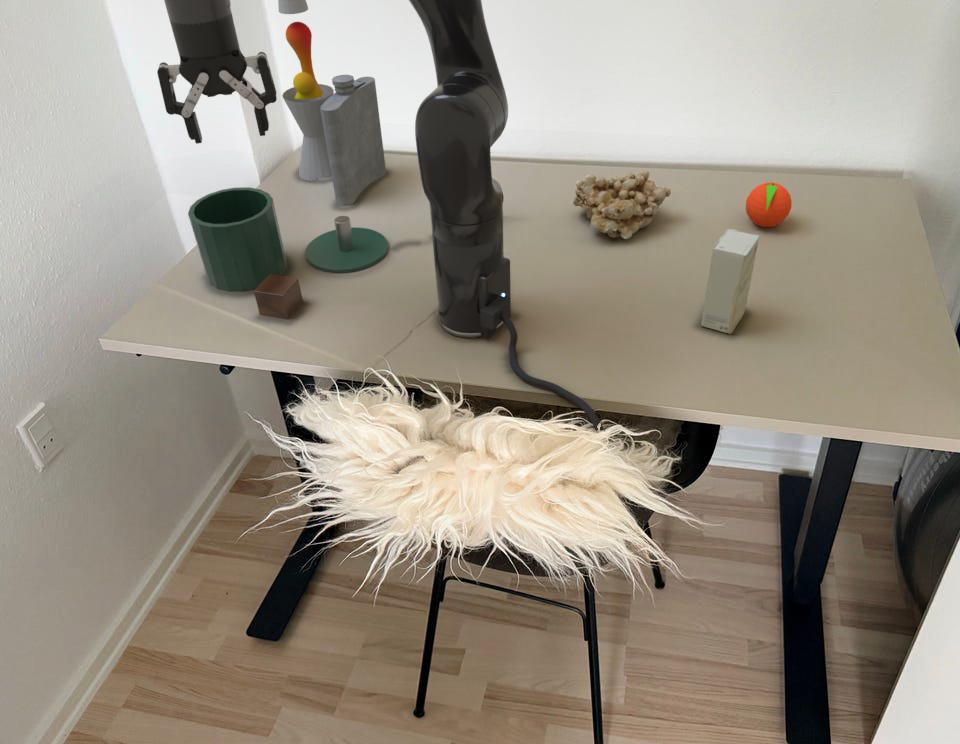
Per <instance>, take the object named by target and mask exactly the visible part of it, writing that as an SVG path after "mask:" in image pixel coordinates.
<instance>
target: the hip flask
mask: <svg viewBox="0 0 960 744" xmlns="http://www.w3.org/2000/svg"><path fill="white" fill-rule="evenodd" d="M331 83H332V85H333V88H334V93H333V95H332V96H330V97H329V98H328V99H327V100H326V101H325V102H324V103H323V104H322V106H321V107H320V109H321V115H322V121H323V127H324V133H325V139H326V145H327V151H328V156H329V162H330V168H331V174H332V176H331V178H332V186H333V191H334V196H335V197H334V198H335V203H336V205H337V206H339V207H347V206H351V205H353V204H354V203H355V202H356V200H357V198H358V197H359V196H360V194H361V193H362V192H363V191H364V190H365V189H366V188H367V187H368V186H369V185H370V184H371V183H372V182H373V183H375V182H377V181H379V180H381V178H383V177H384V176H386V175H387V168H386V160H385V152H384V143H383V136H382V135H383V134H382V126H381V118H380V110H379V102H378V94H377V86H376V79H375V77H373V76H361V77H358V78H357V79H355V77H354V76H353V75H351V74H339V75H334V76H333V77H332V78H331Z"/></svg>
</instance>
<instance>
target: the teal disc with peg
mask: <svg viewBox="0 0 960 744" xmlns="http://www.w3.org/2000/svg"><path fill="white" fill-rule="evenodd" d="M333 221H334V229H332V230H329V231H327V232H324V233H322V234H320V235H318V236H316V237H315V238H314V239H312V240H311V241H310V242H309V243H308V244H307V246H306V248H305V252H304V253H305V259H306V261H307V263H308V264H309V265H310V266H311V267H313V268H315V269H317V270H319V271H323V272H327V273H333V274H335V273H336V274H342V273H343V274H345V273H353V272H358V271H361V270H364V269H367V268H370V267H372V266H374V265H376V264H377V263H379V262H380V261H382V260H383V259H384V258H385V256H386V255H387V253H388V250H389V243H388V241H387V238H386V237H385V236H384V235H383V234H382V233H381V232H378V231H376V230H373V229H371V228H367V227H354V226H353V227H352V223H351V218H350V216H347V215H339V216H336V217H335V218H334V220H333Z"/></svg>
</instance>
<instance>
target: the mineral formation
mask: <svg viewBox="0 0 960 744" xmlns="http://www.w3.org/2000/svg"><path fill="white" fill-rule="evenodd" d="M649 177H650V171H647V170H644V169H643V170H641V171H639V172H638V174H637V175H635V174H634V173H633V172H628V173H626V174H624V176H622V177H621V176H616V177H615V178H609V179H606V178H605V177H604V176H601V175H600V176H596V175H595V174H587V175H585V176H584V177H583V178H584V179H583V180H580V179H579V180H577V181H576V182H575V186H576V189H574V191H575V195H576V196H575V195H574V197H573V198H572V199H573V200H572V204H573V205H574V207H581V209H582V210H584V212H585V213H586V216H587V219H589V220H590V224H589V225H590V228H591V229H593V230H598V231H599V232H602V233H604V234H607V235H608V236H609V238H613V239H614V238H617V237H621V238H622V239H623V240H629V239H630V238H631V237H632V236H633V234H635V233H637V232H638V231H639V229H643V228H645V227H646V226H648V225H650V224H651V222H652V221H653V218H654V216H656V215H657V214H658V213H659V211H660V206H661V205H662V204H663V202H664V201H665V200H666V198H667V197H670V196H671V194H672V192H671V189H670V188H669V187H668V186H665V187H661V186H660V187H659V186H656V183H655V181H654V180H649Z"/></svg>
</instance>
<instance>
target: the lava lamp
mask: <svg viewBox="0 0 960 744" xmlns="http://www.w3.org/2000/svg"><path fill="white" fill-rule="evenodd" d="M277 3H278V4H277V6H278V13H280V14H282V15H296V14H297V15H298V14H302V13H305V12H307V11H308V10H309V6H308V3H307V0H277ZM312 37H313V35H312V31H311V29H310V27H309V26H308V25H307V24H306V23H304V22H301V21H293V22H291V23H289V25H288V26H287V27H286V30H285V39H286V41H287V43H288V45H289V46H290V47H291V49H292V50H293V52H294V53H295V55H296V56H297V58H298V60H299V64H300V68H301V72H298V73H297V74H296V75H295V76H294V77H293V80H292V85H293V87H290V88H288V89H286V90H285V91H284V92H283V93H282V99H283V101H284V102H285V104H286V106H287V108H288V110H289V111H290V113H291V115H292V117H293V118H294V120H295V122H296V124H297V126H298V127H299V129H300V131H301V133H302V135H303V136H302V145H301V152H300V161H299V170H298V176H299V178H300V179H302V180H304V181H306V182H315V183H316V182H317V181H319V180H320V179H326V178H332V174H331V168H330V162H329V156H328V151H327V145H326V139H325V133H324V127H323V121H322V115H321V109H320V107H321V106H322V104H323V103H324V102H325V101H326V100H327V99H328V98H329V97H330V96H332V95H333V94H334V93H335V89H334V87H332V86H330V85H327V84H323V83H318V81H317V79H316V75H315V72H314V68H313V60H312V39H313V38H312Z"/></svg>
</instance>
